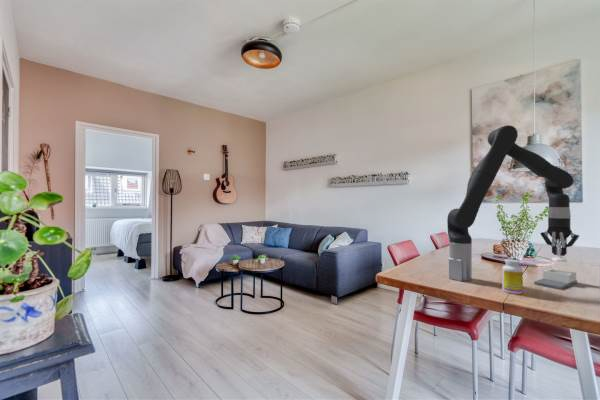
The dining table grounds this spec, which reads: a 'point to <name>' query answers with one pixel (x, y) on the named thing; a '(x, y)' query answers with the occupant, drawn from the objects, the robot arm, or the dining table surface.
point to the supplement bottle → (512, 277)
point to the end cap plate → (557, 279)
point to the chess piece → (559, 253)
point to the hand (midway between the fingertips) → (559, 255)
